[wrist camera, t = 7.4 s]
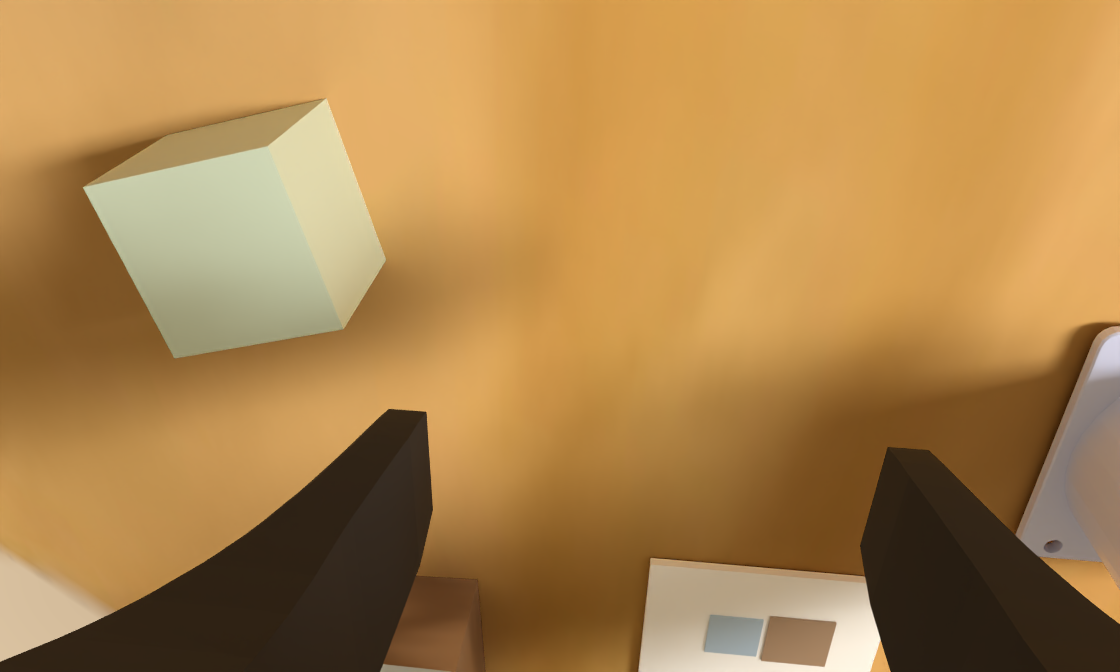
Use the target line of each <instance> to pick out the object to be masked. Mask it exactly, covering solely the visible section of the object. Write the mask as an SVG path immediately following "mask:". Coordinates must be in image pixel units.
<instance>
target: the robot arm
mask: <svg viewBox="0 0 1120 672" xmlns="http://www.w3.org/2000/svg"><path fill="white" fill-rule="evenodd" d="M432 511H433V505H432V490H431V475H430V460H429V445H428V429H427V414H426V412H421V411H408V410H395V409H388V410H387V411H386V412H385V413H384V414H382V415H381V416H380V417H379V418H378V419H377V420H376V421H375V422H374V423H373V424H372V425H371V426H370V427H369V428H368V429H367V430H366V431H365V432H364V433H363V434H362V435H361V436H360V437H359V438H357V439H356V440H355V441H354V442H353V443H352V444H351V445H350V446H349V447H348V448H347V449H346V450H345V451H344V452H343V453H342V454H341V455H340V456H339V457H338V458H336V459H335V460H334V461H333V462H332V463H331V464H330V465H329V466H328V467H327V468H325V469H324V470H323V471H322V472H321V473H320V474H319V475H318V476H317V477H315V478H314V479H313V480H312V481H311V482H310V483H309V484H308V485H307V486H305V487H304V488H303V489H302V490H301V491H300V492H298V493H297V494H296V495H295V496H294V497H292V498H291V499H290V500H289V501H287V502H286V503H285V504H284V505H283V506H281V507H280V508H279V509H278V510H276V511H275V512H274V513H273V514H271V515H270V516H269V517H268V518H267V519H265V520H264V521H263V522H261V523H260V524H259V525H257V526H256V527H255V528H253V529H252V530H251V531H249V532H248V533H247V534H245V535H244V536H243V537H241V538H240V539H238V540H237V541H235V542H234V543H232V544H231V545H229V546H228V547H226V548H225V549H223V550H222V551H220V552H219V553H217V554H216V555H215V556H213V557H211V558H210V559H208V560H207V561H205V562H204V563H202V564H200V565H199V566H197V567H195V568H193V569H192V570H190V571H188V572H187V573H185V574H183V575H181V576H180V577H178V578H176V579H174V580H173V581H171V582H169V583H168V584H166V585H164V586H162V587H161V588H159V589H157V590H156V591H154V592H152V593H150V594H149V595H147V596H145V597H143V598H141V599H139V600H137V601H135V602H133V603H131V604H129V605H127V606H125V607H124V608H122V609H120V610H118V611H116V612H114V613H112V614H110V615H108V616H105V617H103V618H101V619H99V620H97V621H95V622H93V623H91V624H89V625H86V626H85V627H82V628H80V629H78V630H76V631H73V632H71V633H69V634H67V635H64V636H62V637H60V638H58V639H55V640H53V641H50V642H48V643H45V644H43V645H40V646H38V647H36V648H33V649H31V650H28V651H26V652H23V653H21V654H18V655H16V656H13V657H11V658H8V659H6V660H4V661H1V662H0V672H380V671H381V668H382V666H383V663H384V660H385V658H386V655H387V652H388V650H389V647H390V644H391V642H392V639H393V636H394V634H395V631H396V628H397V626H398V623H399V620H400V618H401V615H402V612H403V610H404V607H405V604H406V602H407V599H408V596H409V594H410V591H411V588H412V585H413V583H414V580H415V577H416V574H417V572H418V569H419V566H420V562H421V558H422V554H423V550H424V546H425V542H426V537H427V533H428V529H429V524H430V520H431V515H432ZM1052 540H1055V541H1054V542H1052V543H1048V544H1046V543H1047V542H1049V541H1052ZM860 547H861V554H862V560H863V566H864V573H865V579H866V584H867V590H868V595H869V601H870V606H871V609H872V613H873V616H874V619H875V623H876V626H877V629H878V632H879V636H880V639H881V642H882V645H883V649H884V652H885V655H886V658H887V661H888V665H889V668H890V671H891V672H1120V624H1119V623H1117V622H1116V621H1115V620H1113V619H1112V618H1111V617H1109V616H1108V615H1107V614H1105V613H1104V612H1103V611H1102V610H1100V609H1099V608H1098V607H1097V606H1095V605H1094V604H1093V603H1092V602H1090V601H1089V600H1088V599H1087V598H1085V597H1084V596H1083V595H1082V594H1081V593H1079V592H1078V591H1077V590H1076V589H1075V588H1074V587H1073V586H1071V585H1070V584H1069V583H1068V582H1067V581H1066V580H1064V579H1063V578H1062V577H1061V576H1060V575H1059V574H1057V573H1056V572H1055V571H1054V570H1053V569H1052V568H1050V567H1049V566H1048V565H1047V564H1046V563H1045V562H1044V561H1043V560H1041V559H1040V558H1039V557H1048V558H1060V559H1072V560H1084V561H1096V562H1103V564H1104V565H1105V567H1106V568H1107V570H1108V572H1109V573H1110V575H1111V577H1112V578H1113V580H1114V581H1115V583H1116V585H1117V586H1118V588H1119V589H1120V326H1113V327H1110V328H1107V329H1105V330H1103V331H1102V332H1100V333H1099V334H1098V335H1097V336H1096V338H1095V339H1094V341H1093V343H1092V346H1091V348H1090V351H1089V353H1088V356H1087V358H1086V361H1085V363H1084V366H1083V368H1082V371H1081V373H1080V376H1079V378H1078V381H1077V383H1076V386H1075V388H1074V391H1073V393H1072V395H1071V398H1070V400H1069V403H1068V405H1067V408H1066V410H1065V413H1064V415H1063V418H1062V420H1061V423H1060V425H1059V428H1058V430H1057V433H1056V435H1055V438H1054V440H1053V443H1052V445H1051V448H1050V450H1049V453H1048V455H1047V458H1046V460H1045V463H1044V465H1043V468H1042V470H1041V473H1040V475H1039V477H1038V480H1037V482H1036V485H1035V487H1034V490H1033V492H1032V495H1031V497H1030V500H1029V502H1028V505H1027V507H1026V510H1025V512H1024V515H1023V517H1022V520H1021V522H1020V525H1019V527H1018V530H1017V532H1016V535H1014V534H1013V533H1012V532H1011V531H1010V530H1009V529H1008V528H1007V527H1006V526H1005V525H1004V524H1003V523H1002V522H1001V521H1000V520H999V519H998V518H997V517H996V516H995V515H994V514H993V513H992V512H991V511H990V510H989V509H988V508H987V507H986V506H985V505H984V504H983V503H982V502H981V501H980V500H979V499H978V498H977V497H976V496H975V495H974V494H973V493H972V492H971V491H970V490H969V489H968V488H967V487H966V486H965V485H964V484H963V483H962V482H961V481H960V480H959V479H958V478H957V477H956V476H955V475H954V474H953V473H952V472H951V471H950V470H949V469H948V468H947V467H946V466H945V465H944V464H943V463H941V462H940V461H939V460H938V459H937V458H936V457H935V456H934V455H933V454H932V453H931V452H930V451H929V450H918V449H905V448H892V447H888V448H887V452H886V455H885V459H884V463H883V466H882V470H881V473H880V477H879V480H878V484H877V488H876V491H875V495H874V498H873V502H872V505H871V509H870V513H869V516H868V520H867V523H866V527H865V530H864V534H863V538H862V541H861V545H860Z"/></svg>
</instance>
